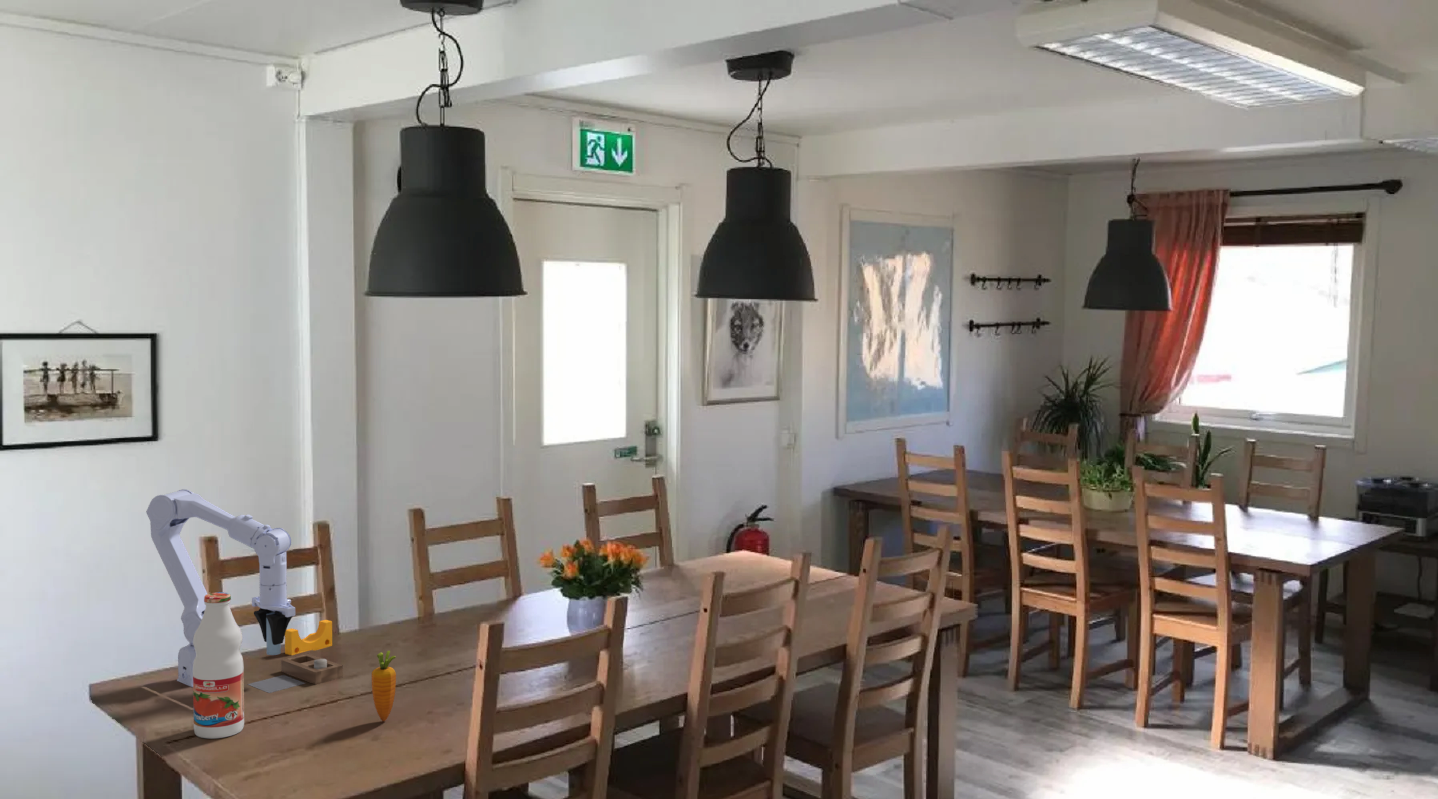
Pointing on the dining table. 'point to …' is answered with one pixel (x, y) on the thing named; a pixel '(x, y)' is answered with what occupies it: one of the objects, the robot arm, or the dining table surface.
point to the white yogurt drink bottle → (218, 671)
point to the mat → (276, 684)
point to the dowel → (270, 647)
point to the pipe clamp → (309, 639)
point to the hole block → (312, 668)
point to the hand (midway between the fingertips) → (273, 642)
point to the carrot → (384, 686)
